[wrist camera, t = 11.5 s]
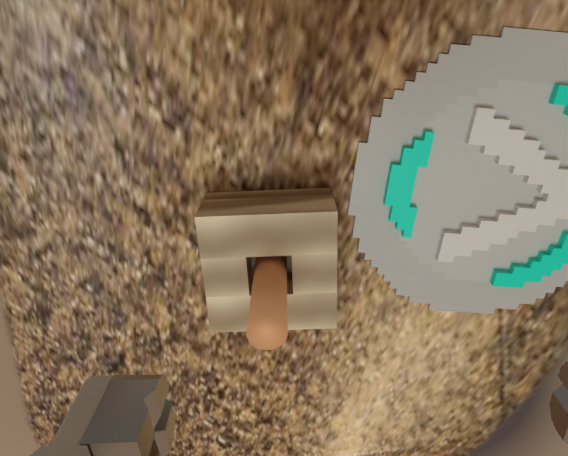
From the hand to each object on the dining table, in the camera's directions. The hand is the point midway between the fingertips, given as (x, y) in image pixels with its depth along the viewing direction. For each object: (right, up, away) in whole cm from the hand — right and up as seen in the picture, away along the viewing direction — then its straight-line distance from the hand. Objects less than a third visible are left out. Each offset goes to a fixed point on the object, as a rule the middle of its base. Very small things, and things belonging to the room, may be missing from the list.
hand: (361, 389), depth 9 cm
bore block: (-3, +2, +35) cm, 35 cm away
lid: (+19, +7, +33) cm, 39 cm away
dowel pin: (-3, +1, +33) cm, 33 cm away
